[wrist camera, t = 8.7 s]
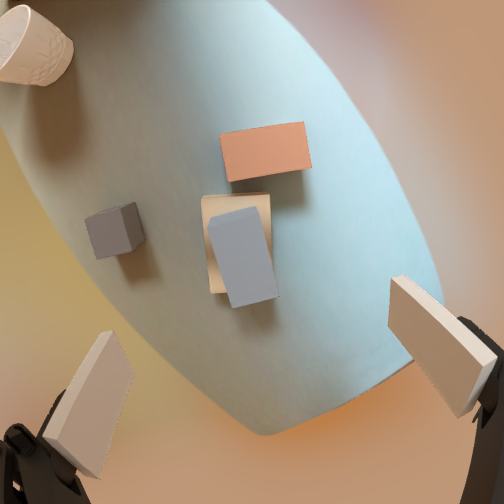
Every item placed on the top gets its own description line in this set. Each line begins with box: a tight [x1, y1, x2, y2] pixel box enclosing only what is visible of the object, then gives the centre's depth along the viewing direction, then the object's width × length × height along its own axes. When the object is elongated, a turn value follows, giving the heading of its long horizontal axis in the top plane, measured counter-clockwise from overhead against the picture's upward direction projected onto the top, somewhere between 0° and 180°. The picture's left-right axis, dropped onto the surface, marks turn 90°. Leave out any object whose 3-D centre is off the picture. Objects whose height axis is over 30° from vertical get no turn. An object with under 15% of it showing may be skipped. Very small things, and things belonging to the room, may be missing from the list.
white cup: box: [0, 5, 74, 86], centre depth 15 cm, size 8×8×10 cm
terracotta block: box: [219, 122, 312, 182], centre depth 24 cm, size 7×4×4 cm, turn 101°
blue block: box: [207, 206, 280, 309], centre depth 24 cm, size 7×4×4 cm, turn 14°
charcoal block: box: [85, 202, 145, 260], centre depth 25 cm, size 4×4×4 cm
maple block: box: [201, 192, 272, 294], centre depth 27 cm, size 9×6×3 cm, turn 3°
